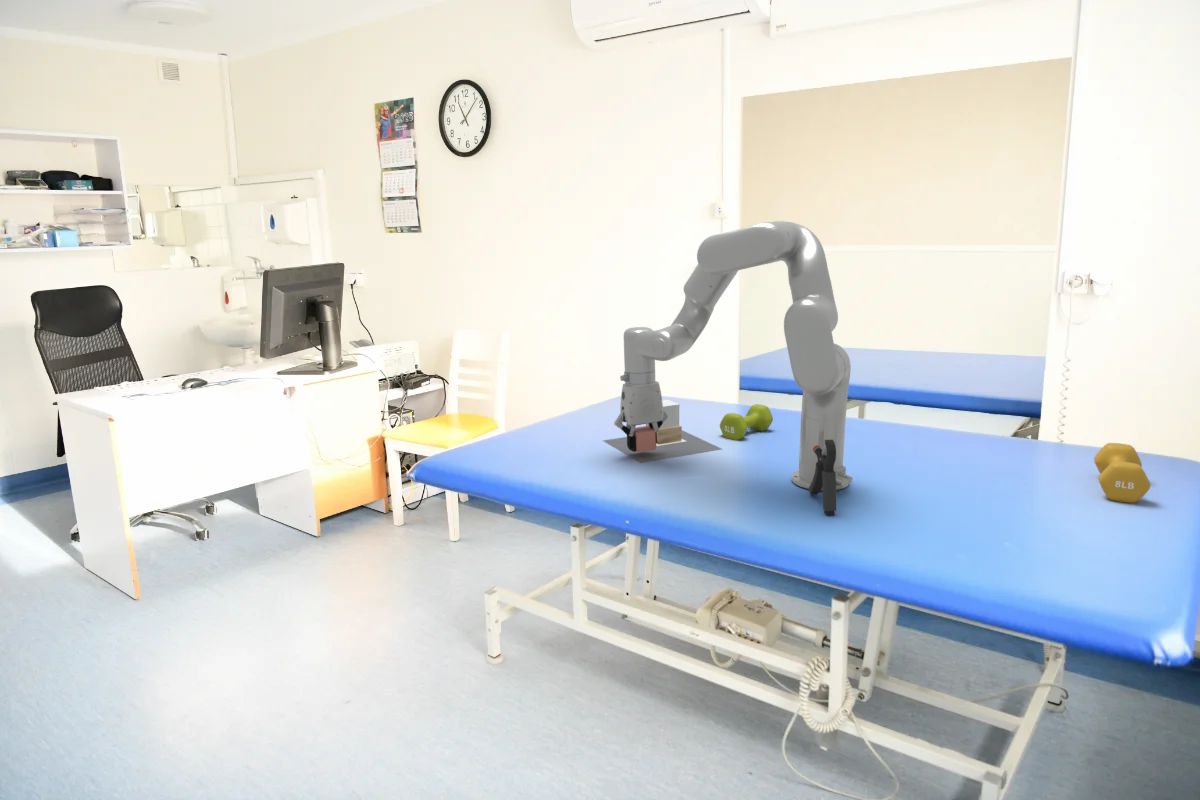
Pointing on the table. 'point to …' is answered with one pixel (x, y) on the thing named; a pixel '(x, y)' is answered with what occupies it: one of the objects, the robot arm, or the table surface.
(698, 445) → the grey mat
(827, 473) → the hand grip strengthener
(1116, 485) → the dumbbell
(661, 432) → the oak base
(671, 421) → the grey cube
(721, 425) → the dumbbell
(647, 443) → the red cube
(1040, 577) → the table surface
